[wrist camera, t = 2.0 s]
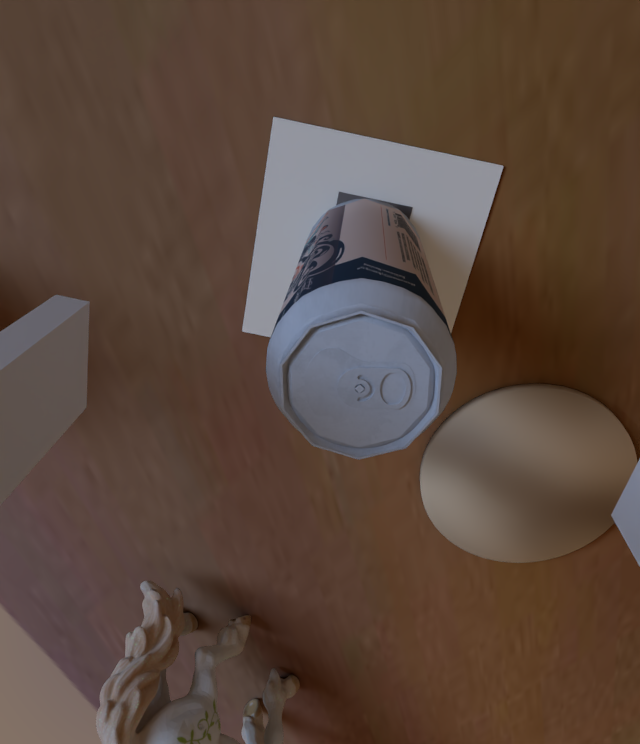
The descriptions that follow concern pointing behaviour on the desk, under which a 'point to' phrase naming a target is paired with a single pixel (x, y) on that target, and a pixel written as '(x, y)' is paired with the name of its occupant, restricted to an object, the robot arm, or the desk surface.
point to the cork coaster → (526, 472)
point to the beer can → (362, 335)
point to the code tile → (364, 181)
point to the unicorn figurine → (199, 707)
